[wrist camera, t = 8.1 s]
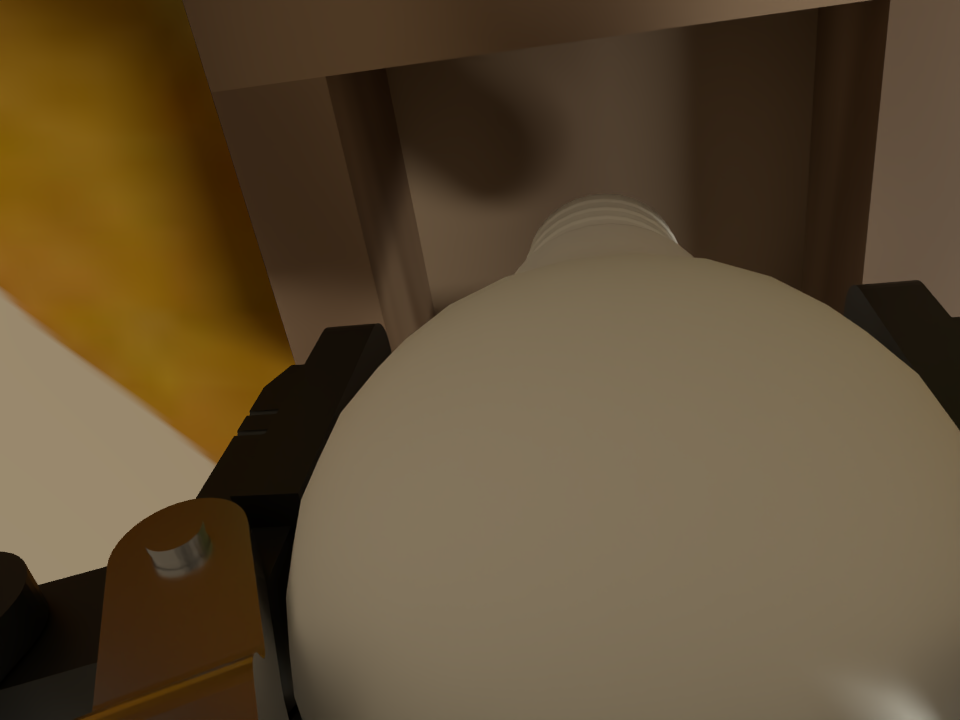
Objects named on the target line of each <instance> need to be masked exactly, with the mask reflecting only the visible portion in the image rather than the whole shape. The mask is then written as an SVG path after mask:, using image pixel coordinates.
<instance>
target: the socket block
mask: <svg viewBox="0 0 960 720" xmlns="http://www.w3.org/2000/svg"><path fill="white" fill-rule="evenodd" d="M182 1H183V4H184V7H185V11H186V14H187V17H188V20H189V23H190V27H191V30H192V33H193V36H194V39H195V43H196V46H197V49H198V52H199V55H200V59H201V62H202V65H203V68H204V72H205V75H206V78H207V81H208V84H209V88H210V91H211V94H212V97H213V100H214V104H215V107H216V110H217V113H218V116H219V120H220V123H221V126H222V129H223V132H224V136H225V139H226V142H227V145H228V149H229V152H230V155H231V158H232V161H233V165H234V168H235V171H236V174H237V177H238V181H239V184H240V187H241V190H242V193H243V197H244V200H245V203H246V206H247V210H248V213H249V216H250V219H251V222H252V226H253V229H254V232H255V235H256V238H257V242H258V245H259V248H260V251H261V254H262V258H263V261H264V264H265V267H266V271H267V274H268V277H269V280H270V283H271V287H272V290H273V293H274V296H275V299H276V303H277V306H278V309H279V312H280V315H281V319H282V322H283V325H284V328H285V332H286V335H287V338H288V341H289V344H290V348H291V351H292V354H293V357H294V360H295V364H296V365H302V364H305V362H306V360H307V359H308V357H309V355H310V353H311V351H312V350H313V348H314V346H315V344H316V343H317V341H318V339H319V337H320V335H321V334H322V332H323V330H324V329H325V328H327V327H337V326H349V325H362V324H374V323H380V324H381V325H382V326H383V327H384V329H385V331H386V333H387V336H388V339H389V343H390V348H391V352H392V353H393V351H394V350H395V349H396V348H397V347H398V346H399V345H400V344H401V343H402V342H403V341H404V340H405V339H406V338H408V337H409V336H410V335H411V334H413V333H414V332H415V331H417V330H418V329H419V328H420V327H422V326H423V325H424V324H426V323H427V322H428V321H429V320H431V319H432V318H433V317H435V316H436V315H437V314H438V313H440V312H441V311H442V310H443V309H445V308H446V307H447V306H449V305H450V304H452V303H454V302H456V301H458V300H460V299H462V298H464V297H466V296H468V295H470V294H472V293H474V292H476V291H478V290H480V289H482V288H484V287H486V286H488V285H490V284H492V283H494V282H496V281H498V280H500V279H502V278H504V277H507V276H511V275H514V274H515V272H516V271H517V270H518V268H519V267H520V266H521V265H522V264H523V263H524V262H525V260H526V258H527V255H528V253H529V251H530V248H531V244H532V241H533V238H534V237H535V235H536V233H537V231H538V229H539V228H540V226H541V225H542V224H543V223H544V221H545V220H546V219H547V218H548V217H549V216H550V215H551V214H552V213H553V212H555V211H556V210H557V209H558V208H560V207H561V206H563V205H565V204H567V203H569V202H571V201H573V200H575V199H578V198H581V197H585V196H588V195H595V194H604V193H605V194H617V195H623V196H626V197H630V198H633V199H636V200H638V201H640V202H642V203H644V204H646V205H648V206H649V207H650V208H651V209H653V210H654V211H655V212H656V213H658V214H659V215H660V216H661V218H662V219H663V220H664V221H665V223H666V224H667V225H668V227H669V229H670V231H671V232H672V233H673V234H674V236H675V238H676V240H677V242H678V244H679V245H680V246H681V247H682V248H683V249H685V250H686V251H687V252H688V253H690V254H691V255H692V256H693V257H694V258H705V259H709V260H713V261H717V262H720V263H724V264H728V265H731V266H735V267H738V268H742V269H746V270H749V271H753V272H756V273H760V274H764V275H767V276H771V277H773V278H775V279H777V280H779V281H781V282H783V283H785V284H787V285H789V286H791V287H793V288H795V289H797V290H799V291H801V292H803V293H805V294H807V295H809V296H811V297H812V298H814V299H816V300H818V301H820V302H822V303H824V304H826V305H828V306H830V307H831V308H833V309H834V310H836V311H837V312H838V313H840V314H841V315H843V316H844V307H845V300H846V296H847V292H848V290H849V288H850V287H851V286H853V285H861V284H873V283H886V282H898V281H910V280H919V281H921V282H922V283H923V284H924V285H925V286H926V287H927V289H928V290H929V291H930V292H931V293H932V295H933V296H934V297H935V298H936V299H937V300H938V302H939V303H940V304H941V305H942V306H943V308H944V309H945V310H946V311H947V312H948V314H949V315H950V316H951V317H960V0H182Z"/></svg>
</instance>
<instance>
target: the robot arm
mask: <svg viewBox="0 0 960 720" xmlns="http://www.w3.org/2000/svg"><path fill="white" fill-rule="evenodd" d="M844 317H846V318H847V319H849V320H850V321H852V322H853V323H855V324H856V325H858V326H859V327H860V328H862V329H863V330H865V331H866V332H868V333H869V334H870V335H871V336H872V337H874V338H875V339H876V340H877V341H878V342H880V343H881V344H882V345H883V346H885V347H886V348H887V349H888V350H889V351H891V352H892V353H893V354H894V355H896V356H897V357H898V358H899V359H900V360H902V361H903V362H904V363H905V364H907V365H908V366H909V367H910V368H911V369H913V370H914V371H915V372H916V373H917V374H919V376H920V377H921V378H922V380H923V381H924V383H925V384H926V385H927V387H928V388H929V389H930V391H931V392H932V393H933V395H934V396H935V398H936V399H937V400H938V402H939V403H940V404H941V406H942V407H943V408H944V410H945V411H946V412H947V414H948V415H949V417H950V418H951V419H952V421H953V422H954V423H955V425H956V426H957V428H958V429H959V430H960V317H951V316H950V315H949V314H948V312H947V311H946V310H945V309H944V308H943V306H942V305H941V304H940V303H939V302H938V300H937V299H936V298H935V297H934V296H933V295H932V293H931V292H930V291H929V290H928V289H927V287H926V286H925V285H924V284H923V283H922V282H921V281H919V280H910V281H898V282H886V283H873V284H861V285H853V286H851V287H850V288H849V290H848V292H847V296H846V300H845V307H844ZM391 354H392V352H391V348H390V343H389V339H388V336H387V333H386V331H385V329H384V327H383V326H382V325H381V324H380V323H374V324H362V325H349V326H337V327H327V328H325V329H324V330H323V332H322V334H321V335H320V337H319V339H318V341H317V343H316V344H315V346H314V348H313V350H312V351H311V353H310V355H309V357H308V359H307V360H306V362H305V364H302V365H291V366H290V367H289V368H287V369H286V370H285V371H284V372H282V373H281V374H280V375H279V376H278V377H276V378H275V379H274V380H273V381H271V382H270V383H269V384H268V385H266V386H265V387H264V388H263V390H262V392H261V393H260V395H259V397H258V398H257V400H256V401H255V403H254V405H253V406H252V408H251V410H250V416H246V418H245V419H244V421H243V423H242V424H241V426H240V427H239V429H238V431H237V432H238V436H234V437H233V439H232V440H231V442H230V444H229V445H228V447H227V449H226V450H225V452H224V453H223V455H222V457H221V458H220V460H219V462H218V463H217V465H216V466H215V468H214V470H213V471H212V473H211V475H210V476H209V478H208V480H207V481H206V483H205V484H204V486H203V488H202V489H201V491H200V493H199V494H198V496H197V497H196V499H192V500H188V501H184V502H180V503H177V504H174V505H171V506H169V507H167V508H164V509H162V510H160V511H158V512H156V513H154V514H152V515H150V516H149V517H147V518H146V519H144V520H142V521H141V522H140V523H138V524H137V525H136V526H134V527H133V528H132V529H131V530H130V531H129V532H127V533H126V534H125V536H124V537H123V538H122V539H121V540H120V541H119V542H118V544H117V545H116V547H115V548H114V549H113V551H112V553H111V555H110V558H109V560H108V565H107V566H106V567H103V568H100V569H96V570H92V571H89V572H85V573H82V574H78V575H74V576H70V577H67V578H63V579H59V580H55V581H52V582H48V583H45V584H41V585H38V584H37V583H36V581H35V579H34V578H33V576H32V574H31V573H30V571H29V569H28V567H27V566H26V564H25V562H24V561H23V560H22V559H21V558H20V557H19V556H17V555H14V554H12V553H7V552H0V720H302V717H301V715H300V712H299V709H298V706H297V703H296V700H295V697H294V689H293V680H292V671H291V662H290V653H289V638H288V622H287V607H286V593H287V586H288V578H289V571H290V564H291V557H292V549H293V543H294V538H295V532H296V526H297V520H298V515H299V509H300V503H301V499H302V497H303V494H304V492H305V490H306V487H307V485H308V483H309V480H310V478H311V476H312V474H313V471H314V469H315V467H316V464H317V462H318V460H319V458H320V456H321V453H322V451H323V449H324V447H325V445H326V443H327V441H328V439H329V437H330V434H331V432H332V430H333V428H334V426H335V424H336V422H337V420H338V417H339V415H340V413H341V412H342V411H343V409H344V408H345V407H346V406H347V405H348V403H349V402H350V401H351V400H352V399H353V397H354V396H355V395H356V394H357V392H358V391H359V390H360V389H361V388H362V386H363V385H364V384H365V383H366V381H367V380H368V379H369V378H370V377H371V375H372V374H373V373H374V372H375V370H376V369H377V368H378V367H379V366H380V365H381V364H382V363H383V362H384V361H385V360H386V359H387V358H388V357H389V356H390V355H391Z"/></svg>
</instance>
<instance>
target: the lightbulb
mask: <svg viewBox="0 0 960 720" xmlns="http://www.w3.org/2000/svg"><path fill="white" fill-rule="evenodd" d="M286 607H287V622H288V638H289V653H290V662H291V671H292V680H293V689H294V697H295V700H296V703H297V706H298V709H299V712H300V715H301V717H302V720H960V430H959V429H958V428H957V426H956V425H955V423H954V422H953V421H952V419H951V418H950V417H949V415H948V414H947V412H946V411H945V410H944V408H943V407H942V406H941V404H940V403H939V402H938V400H937V399H936V398H935V396H934V395H933V393H932V392H931V391H930V389H929V388H928V387H927V385H926V384H925V383H924V381H923V380H922V378H921V377H920V376H919V374H917V373H916V372H915V371H914V370H913V369H911V368H910V367H909V366H908V365H907V364H905V363H904V362H903V361H902V360H900V359H899V358H898V357H897V356H896V355H894V354H893V353H892V352H891V351H889V350H888V349H887V348H886V347H885V346H883V345H882V344H881V343H880V342H878V341H877V340H876V339H875V338H874V337H872V336H871V335H870V334H869V333H868V332H866V331H865V330H863V329H862V328H860V327H859V326H858V325H856V324H855V323H853V322H852V321H850V320H849V319H847V318H846V317H844V316H843V315H841V314H840V313H838V312H837V311H836V310H834V309H833V308H831V307H830V306H828V305H826V304H824V303H822V302H820V301H818V300H816V299H814V298H812V297H811V296H809V295H807V294H805V293H803V292H801V291H799V290H797V289H795V288H793V287H791V286H789V285H787V284H785V283H783V282H781V281H779V280H777V279H775V278H773V277H771V276H767V275H764V274H760V273H756V272H753V271H749V270H746V269H742V268H738V267H735V266H731V265H728V264H724V263H720V262H717V261H713V260H709V259H705V258H694V257H693V256H692V255H691V254H690V253H688V252H687V251H686V250H685V249H683V248H682V247H681V246H680V245H679V244H678V242H677V240H676V238H675V236H674V234H673V233H672V232H671V231H670V229H669V227H668V225H667V224H666V223H665V221H664V220H663V219H662V218H661V216H660V215H659V214H658V213H656V212H655V211H654V210H653V209H651V208H650V207H649V206H648V205H646V204H644V203H642V202H640V201H638V200H636V199H633V198H630V197H626V196H623V195H617V194H605V193H604V194H595V195H588V196H585V197H581V198H578V199H575V200H573V201H571V202H569V203H567V204H565V205H563V206H561V207H560V208H558V209H557V210H556V211H555V212H553V213H552V214H551V215H550V216H549V217H548V218H547V219H546V220H545V221H544V223H543V224H542V225H541V226H540V228H539V229H538V231H537V233H536V235H535V237H534V238H533V241H532V244H531V248H530V251H529V253H528V255H527V258H526V260H525V262H524V263H523V264H522V265H521V266H520V267H519V268H518V270H517V271H516V272H515V274H514V275H511V276H507V277H504V278H502V279H500V280H498V281H496V282H494V283H492V284H490V285H488V286H486V287H484V288H482V289H480V290H478V291H476V292H474V293H472V294H470V295H468V296H466V297H464V298H462V299H460V300H458V301H456V302H454V303H452V304H450V305H449V306H447V307H446V308H445V309H443V310H442V311H441V312H440V313H438V314H437V315H436V316H435V317H433V318H432V319H431V320H429V321H428V322H427V323H426V324H424V325H423V326H422V327H420V328H419V329H418V330H417V331H415V332H414V333H413V334H411V335H410V336H409V337H408V338H406V339H405V340H404V341H403V342H402V343H401V344H400V345H399V346H398V347H397V348H396V349H395V350H394V351H393V353H392V354H391V355H390V356H389V357H388V358H387V359H386V360H385V361H384V362H383V363H382V364H381V365H380V366H379V367H378V368H377V369H376V370H375V372H374V373H373V374H372V375H371V377H370V378H369V379H368V380H367V381H366V383H365V384H364V385H363V386H362V388H361V389H360V390H359V391H358V392H357V394H356V395H355V396H354V397H353V399H352V400H351V401H350V402H349V403H348V405H347V406H346V407H345V408H344V409H343V411H342V412H341V413H340V415H339V417H338V420H337V422H336V424H335V426H334V428H333V430H332V432H331V434H330V437H329V439H328V441H327V443H326V445H325V447H324V449H323V451H322V453H321V456H320V458H319V460H318V462H317V464H316V467H315V469H314V471H313V474H312V476H311V478H310V480H309V483H308V485H307V487H306V490H305V492H304V494H303V497H302V499H301V503H300V509H299V515H298V520H297V526H296V532H295V538H294V543H293V549H292V557H291V564H290V571H289V578H288V586H287V593H286Z"/></svg>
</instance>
